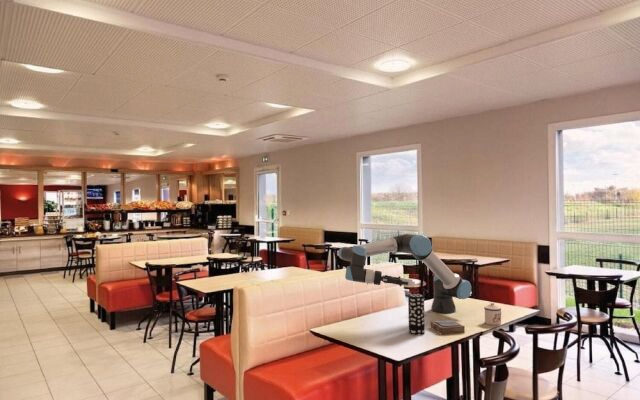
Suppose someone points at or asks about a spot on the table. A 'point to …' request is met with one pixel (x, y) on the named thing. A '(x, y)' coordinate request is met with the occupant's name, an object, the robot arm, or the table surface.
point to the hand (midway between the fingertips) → (413, 283)
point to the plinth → (447, 327)
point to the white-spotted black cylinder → (416, 314)
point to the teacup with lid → (492, 314)
